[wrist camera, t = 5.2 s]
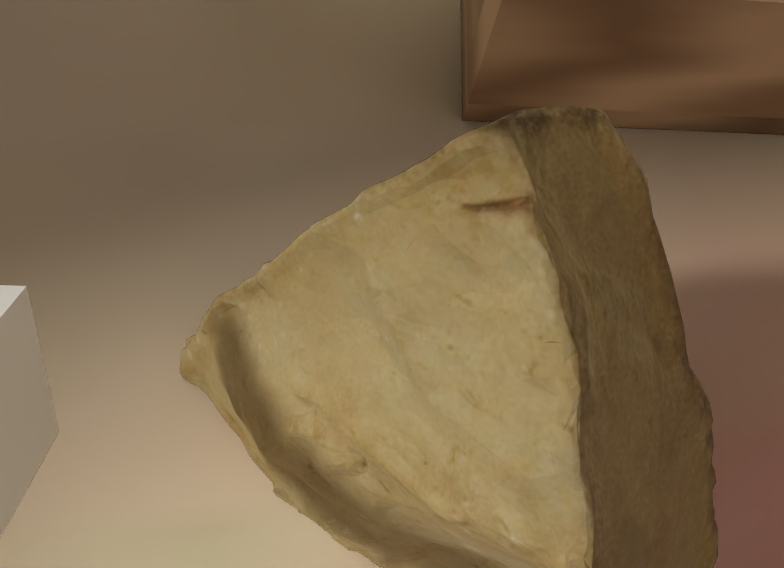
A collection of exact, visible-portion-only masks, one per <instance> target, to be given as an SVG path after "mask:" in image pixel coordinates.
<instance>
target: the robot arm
mask: <svg viewBox="0 0 784 568" xmlns="http://www.w3.org/2000/svg"><path fill="white" fill-rule="evenodd" d="M58 433H59V429H58V424H57V420H56V415H55V411H54V406H53V402H52V397H51V393H50V388H49V384H48V379H47V375H46V370H45V366H44V361H43V357H42V352H41V348H40V343H39V339H38V334H37V330H36V325H35V321H34V316H33V312H32V307H31V303H30V298H29V294H28V289H27V286H13V285H0V537H1V535H2V534H3V532H4V530H5V528H6V526H7V525H8V523H9V521H10V519H11V517H12V516H13V514H14V512H15V510H16V508H17V507H18V505H19V503H20V501H21V499H22V498H23V496H24V494H25V492H26V490H27V489H28V487H29V485H30V483H31V481H32V480H33V478H34V476H35V474H36V472H37V471H38V469H39V467H40V465H41V463H42V462H43V460H44V458H45V456H46V454H47V453H48V451H49V449H50V447H51V445H52V443H53V442H54V440H55V438H56V436H57V434H58Z"/></svg>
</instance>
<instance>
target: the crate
mask: <svg viewBox="0 0 784 568" xmlns="http://www.w3.org/2000/svg"><path fill="white" fill-rule="evenodd" d="M461 60H462V120H474V121H495V120H498V119H500V118H502V117H504V116H507V115H509V114H511V113H514V112H517V111H520V110H526V109H534V108H542V107H554V106H580V107H587V108H595V109H600V110H602V111H603V112H605V113H606V115H607V116H608V118H609V120H610V121H611V123H612V125H613V127H628V128H650V129H672V130H694V131H716V132H738V133H760V134H782V135H784V0H461Z"/></svg>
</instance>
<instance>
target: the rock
mask: <svg viewBox="0 0 784 568" xmlns="http://www.w3.org/2000/svg"><path fill="white" fill-rule="evenodd" d="M186 346H187V347H186V348H183V350H182V351H181V363H180V374H181V375H182V377H183V378H184V379H185V380H186V381H188V382H190V383H192V384H194V385H197V386H199V387H200V388H201V389H202V390H203V391H204V392H205V393H206V394H207V395H208V396H209V398H210V399H211V400H212V402H213V403H214V405H215V406H216V408H217V409H218V411H219V412H220V413H221V415H222V416H223V418H224V419H225V420H226V422H227V423H228V424H229V426H230V427H231V428H232V429H233V430H234V431H235V432H236V433H237V434H238V436H239V437H240V438H241V440H242V441H243V443H244V446H245V448H246V450H247V452H248V453H249V455H250V457H251V458H252V460H253V461H254V462H255V463H256V464H257V466H258V467H259V468H260V469H261V470H262V471H263V472H264V474H265V475H266V476H267V477H268V478H269V479H270V480H271V481H272V482H273V485H274V489H273V492H274V493H275V494H276V496H278V497H279V498H281V499H282V500H284V501H285V502H287V503H289V504H290V505H292V506H293V507H295V508H296V509H297V510H298V512H299V513H301V514H304V515H306V516H307V517H308V518H310V519H311V520H313V521H314V522H316V523H317V524H318V525H319V526H321V527H322V528H323V529H324V530H325V531H327V532H328V533H330V534H331V536H332V538H333V539H334V540H336V541H337V542H338V543H340V544H341V545H343V546H344V547H345V548H347V549H348V550H352V551H357V552H359V553H361V554H362V555H364V556H366V557H367V558H369V559H370V560H371V561H372V562H373V563H374V564H376V565H378V566H380V567H382V568H713V567H714V564H715V562H716V559H717V557H718V546H717V536H718V528H717V525H716V522H715V519H714V513H715V511H714V508H713V497H712V489H713V487H714V485H715V483H716V478H715V471H714V469H713V466H712V464H711V462H712V452H713V437H712V421H713V419H712V413H711V408H710V403H709V400H708V398H707V396H706V394H705V392H704V390H703V388H702V386H701V384H700V382H699V380H698V379H697V377H696V376H695V374H694V373H693V371H692V369H691V368H690V366H689V363H688V357H687V352H686V344H685V333H684V327H683V322H682V318H681V314H680V309H679V305H678V301H677V297H676V292H675V288H674V284H673V280H672V276H671V272H670V268H669V265H668V262H667V259H666V255H665V252H664V249H663V245H662V242H661V238H660V235H659V232H658V229H657V226H656V224H655V221H654V219H653V214H652V207H651V201H650V195H649V189H648V183H647V179H646V177H645V175H644V173H643V172H642V170H641V168H640V167H639V165H638V163H637V162H636V160H635V158H634V156H633V155H632V153H631V151H630V150H629V148H628V147H627V145H626V144H625V142H624V141H623V139H622V138H621V137H620V135H619V134H618V132H617V131H616V129H615V128H614V127H613V125H612V123H611V121H610V120H609V118H608V116H607V115H606V113H605V112H603V111H602V110H600V109H595V108H587V107H580V106H554V107H542V108H534V109H526V110H520V111H517V112H514V113H511V114H509V115H507V116H504V117H502V118H500V119H498V120H495V121H493V122H491V123H489V124H486V125H484V126H482V127H479V128H477V129H474V130H471V131H469V132H466V133H464V134H462V135H461V136H459V137H457V138H455V139H453V140H452V141H450V142H449V143H448V144H446V145H445V146H444V147H443V148H441V149H440V150H439V151H437V152H436V153H435V154H433V155H432V156H431V157H429V158H427V159H425V160H423V161H421V162H420V163H418V164H416V165H414V166H412V167H411V168H409V169H407V170H406V171H404V172H403V173H401V174H398V175H396V176H394V177H391V178H389V179H387V180H384V181H382V182H380V183H378V184H375V185H373V186H371V187H369V188H367V189H365V190H363V191H362V192H361V193H360V194H359V195H358V196H357V197H356V199H355V200H354V201H353V202H352V203H351V204H350V205H349V206H347V207H345V208H343V209H341V210H339V211H337V212H335V213H333V214H331V215H329V216H327V217H325V218H323V219H321V220H320V221H318V222H316V223H314V224H313V225H312V226H311V227H310V228H308V229H307V230H306V231H304V232H303V233H301V234H300V235H299V236H298V237H297V238H296V239H295V240H294V241H293V242H292V243H291V244H290V245H289V246H288V247H287V248H286V249H285V250H284V251H283V252H282V253H281V254H280V255H278V256H277V257H276V258H275V259H274V260H272V261H270V262H267V263H265V264H263V265H262V267H261V268H260V270H259V271H258V273H257V274H256V275H255V276H252V277H250V278H248V279H246V280H244V281H243V282H242V284H241V285H240V286H238V287H236V288H233V289H231V290H229V291H227V292H225V293H223V294H221V295H219V296H218V297H217V298H216V300H215V301H214V302H213V303H212V305H211V307H210V309H209V310H208V312H207V313H206V314H205V316H204V317H203V318H202V321H201V323H200V327H199V330H198V333H197V334H195V335H193V336H191V337H189V338H188V339H187V343H186Z"/></svg>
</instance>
